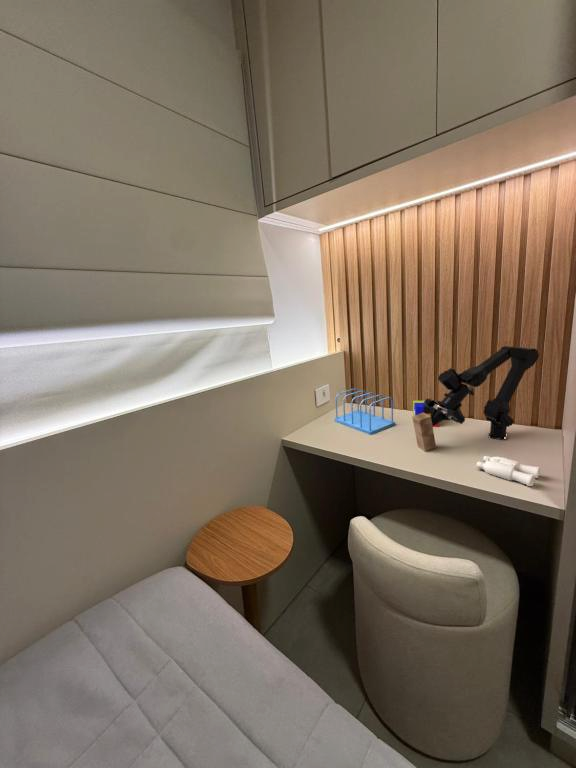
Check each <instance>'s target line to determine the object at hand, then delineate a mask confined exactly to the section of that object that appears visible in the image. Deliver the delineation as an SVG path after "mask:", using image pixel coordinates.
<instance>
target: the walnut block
mask: <svg viewBox="0 0 576 768" xmlns="http://www.w3.org/2000/svg"><path fill="white" fill-rule="evenodd" d="M412 423H413V427H414V428H413V429H414V433H415V438H416V443H417V444H416V445H417V447H418V448H419V449H421V450H422V451H423V452H425V453H426V452H428V451H431V450H434V449H436V448H437V446H436V445H437V443H436V439H435V433H434V427H433V426H432V420H431V416H429V415H427V414H425V413H420V414H418V415H415V416H413V415H412Z"/></svg>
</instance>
